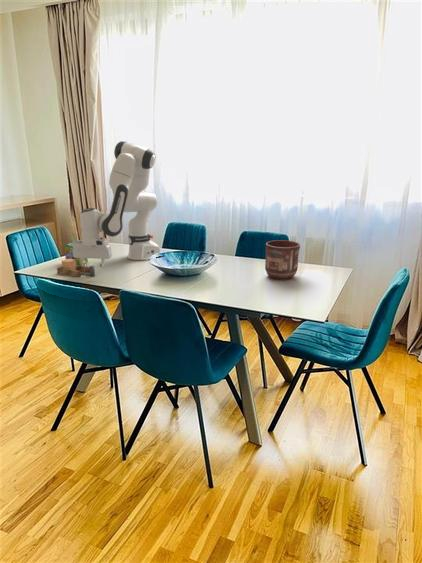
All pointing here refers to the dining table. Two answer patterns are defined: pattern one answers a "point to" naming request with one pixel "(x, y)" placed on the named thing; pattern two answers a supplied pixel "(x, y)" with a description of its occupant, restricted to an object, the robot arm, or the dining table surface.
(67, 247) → the chalk box
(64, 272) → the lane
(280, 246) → the pottery
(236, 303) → the dining table surface
